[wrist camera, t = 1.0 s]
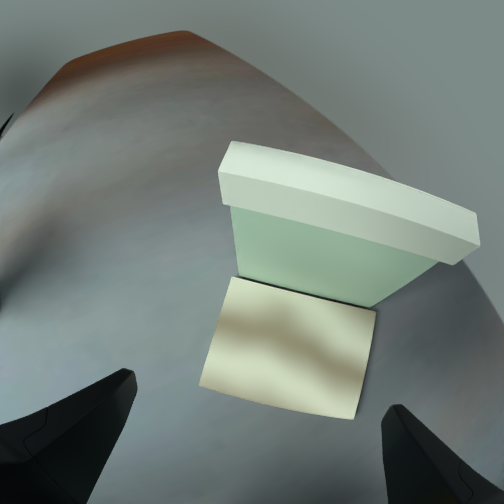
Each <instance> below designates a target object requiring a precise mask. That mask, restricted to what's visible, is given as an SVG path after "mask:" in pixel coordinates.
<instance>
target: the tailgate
mask: <svg viewBox="0 0 504 504" xmlns="http://www.w3.org/2000/svg"><path fill="white" fill-rule="evenodd" d="M218 176H219V182H220V188H221V194H222V201H223V204H225V205H230V208H231V216H232V224H233V232H234V240H235V247H236V255H237V262H238V270H239V276H242V277H246V278H250V279H253V280H257V281H261V282H265V283H269V284H273V285H277V286H281V287H285V288H289V289H293V290H297V291H301V292H305V293H309V294H313V295H317V296H321V297H325V298H329V299H334V300H338V301H342V302H346V303H351V304H355V305H359V306H364V307H368V308H370V307H372V306H373V305H375V304H376V303H378V302H380V301H381V300H383V299H384V298H386V297H388V296H389V295H391V294H392V293H394V292H395V291H397V290H399V289H400V288H402V287H403V286H405V285H406V284H408V283H409V282H411V281H412V280H414V279H415V278H416V277H418V276H419V275H421V274H422V273H424V272H425V271H427V270H428V269H429V268H431V267H432V266H434V265H435V264H436V263H438V262H439V261H440V262H443V263H446V264H450V265H454V264H456V263H457V262H459V261H460V260H462V259H463V258H465V257H466V256H467V255H469V254H470V253H472V252H473V251H474V250H476V249H477V248H479V247H480V238H479V231H478V223H477V217H476V213H474V212H472V211H470V210H468V209H465V208H463V207H461V206H458V205H456V204H453V203H451V202H449V201H446V200H444V199H441V198H439V197H436V196H434V195H431V194H428V193H426V192H423V191H421V190H418V189H415V188H412V187H410V186H406V185H404V184H401V183H398V182H395V181H392V180H389V179H386V178H383V177H380V176H377V175H374V174H370V173H367V172H364V171H361V170H357V169H354V168H350V167H347V166H343V165H340V164H336V163H332V162H329V161H325V160H321V159H317V158H313V157H309V156H305V155H301V154H296V153H292V152H287V151H283V150H278V149H273V148H269V147H264V146H258V145H253V144H248V143H242V142H236V141H231V143H230V146H229V148H228V150H227V152H226V154H225V156H224V159H223V161H222V163H221V165H220V168H219V170H218Z"/></svg>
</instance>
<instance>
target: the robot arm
mask: <svg viewBox="0 0 504 504" xmlns="http://www.w3.org/2000/svg"><path fill="white" fill-rule="evenodd" d="M136 393H137V382H136V377H135V373H134V371H132V370H129V369H126V368H122V369H120V370H118V371H116V372H115V373H113V374H111V375H109V376H107V377H105V378H103V379H101V380H99V381H97V382H95V383H94V384H92V385H90V386H88V387H86V388H84V389H82V390H80V391H78V392H76V393H74V394H72V395H70V396H68V397H66V398H64V399H62V400H60V401H58V402H56V403H54V404H52V405H50V406H48V407H46V408H43V409H41V410H39V411H37V412H35V413H33V414H30V415H28V416H25V417H22V418H20V419H17V420H14V421H11V422H8V423H4V424H1V425H0V504H86V503H87V501H88V499H89V497H90V495H91V493H92V491H93V489H94V486H95V484H96V482H97V480H98V478H99V476H100V474H101V472H102V470H103V468H104V466H105V464H106V462H107V460H108V458H109V456H110V454H111V452H112V450H113V448H114V446H115V444H116V442H117V440H118V438H119V436H120V434H121V432H122V430H123V428H124V426H125V423H126V421H127V418H128V415H129V412H130V410H131V407H132V404H133V401H134V399H135V396H136ZM381 429H382V452H383V464H384V471H385V478H386V486H387V495H388V504H504V491H503V490H501V489H499V488H498V487H497V486H495V485H494V484H492V483H491V482H489V481H488V480H487V479H485V478H484V477H482V476H481V475H480V474H478V473H477V472H476V471H475V470H473V469H472V468H471V467H470V466H469V465H468V464H466V463H465V462H464V461H463V460H462V459H460V457H459V456H458V455H456V454H455V453H454V452H453V451H452V450H451V449H450V448H449V447H448V446H447V445H446V444H444V443H443V442H442V441H441V440H440V439H439V438H438V437H437V436H436V435H435V434H434V433H432V432H431V431H430V430H429V429H428V428H427V427H426V426H425V425H424V424H423V423H422V422H421V421H419V420H418V419H417V418H416V417H415V416H414V415H413V414H412V413H411V412H410V411H409V410H408V409H407V408H405V407H404V406H403V405H402V404H394V405H391V406H390V407H389V409H388V411H387V412H386V414H385V415H384V417H383V419H382V422H381Z"/></svg>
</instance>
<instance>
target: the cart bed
mask: <svg viewBox="0 0 504 504" xmlns="http://www.w3.org/2000/svg"><path fill="white" fill-rule="evenodd" d="M375 316H376V312H375V311H371V310H366V309H362V308H357V307H353V306H349V305H344V304H340V303H336V302H332V301H328V300H323V299H319V298H315V297H311V296H307V295H303V294H299V293H295V292H291V291H287V290H283V289H279V288H275V287H271V286H267V285H263V284H259V283H255V282H252V281H248V280H244V279H240V278H236V277H233V276H232V278H231V281H230V284H229V288H228V291H227V294H226V297H225V300H224V304H223V307H222V310H221V313H220V317H219V320H218V323H217V326H216V330H215V333H214V336H213V339H212V343H211V346H210V349H209V352H208V356H207V359H206V362H205V366H204V369H203V372H202V376H201V379H200V382H199V386H202V387H206V388H209V389H212V390H215V391H218V392H222V393H225V394H229V395H232V396H236V397H239V398H243V399H247V400H251V401H255V402H259V403H263V404H267V405H271V406H276V407H280V408H285V409H290V410H295V411H300V412H305V413H311V414H317V415H323V416H330V417H337V418H344V419H352V420H353V419H354V416H355V412H356V408H357V405H358V401H359V397H360V393H361V389H362V385H363V380H364V376H365V371H366V367H367V362H368V357H369V352H370V346H371V341H372V335H373V329H374V323H375Z"/></svg>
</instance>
